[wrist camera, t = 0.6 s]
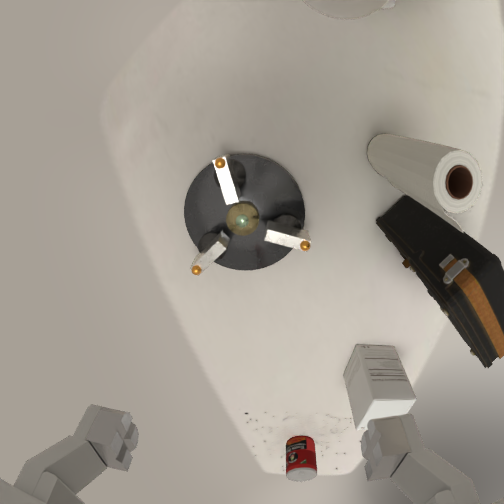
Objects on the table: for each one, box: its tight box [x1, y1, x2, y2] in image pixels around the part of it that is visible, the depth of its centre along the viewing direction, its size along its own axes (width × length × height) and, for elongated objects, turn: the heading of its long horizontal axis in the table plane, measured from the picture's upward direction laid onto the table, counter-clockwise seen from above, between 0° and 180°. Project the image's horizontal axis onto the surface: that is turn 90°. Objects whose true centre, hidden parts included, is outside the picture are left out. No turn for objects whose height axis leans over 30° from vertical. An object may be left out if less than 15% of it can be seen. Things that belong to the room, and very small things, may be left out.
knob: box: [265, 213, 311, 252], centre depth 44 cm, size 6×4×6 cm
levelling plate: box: [184, 154, 305, 270], centre depth 46 cm, size 18×18×4 cm
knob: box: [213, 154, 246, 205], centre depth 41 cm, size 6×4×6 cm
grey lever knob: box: [190, 231, 230, 276], centre depth 46 cm, size 6×4×6 cm
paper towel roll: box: [367, 133, 482, 233], centre depth 33 cm, size 7×6×21 cm
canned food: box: [286, 435, 317, 481], centre depth 67 cm, size 8×8×11 cm
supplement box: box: [344, 345, 417, 430], centre depth 52 cm, size 9×9×15 cm
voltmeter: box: [376, 196, 504, 368], centre depth 36 cm, size 16×9×25 cm, turn 47°
